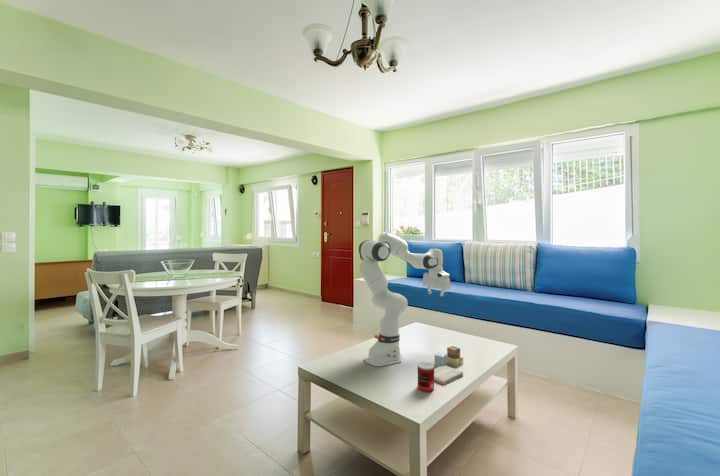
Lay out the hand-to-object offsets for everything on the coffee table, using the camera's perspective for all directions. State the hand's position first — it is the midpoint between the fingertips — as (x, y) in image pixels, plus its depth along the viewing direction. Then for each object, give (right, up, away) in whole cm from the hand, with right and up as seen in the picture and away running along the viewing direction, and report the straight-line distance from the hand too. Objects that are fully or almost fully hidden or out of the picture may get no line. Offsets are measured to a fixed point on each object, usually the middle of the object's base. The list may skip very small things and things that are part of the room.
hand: (435, 294), depth 205 cm
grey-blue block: (-4, -34, -27) cm, 44 cm away
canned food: (-18, -35, -54) cm, 67 cm away
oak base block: (+5, -35, -25) cm, 43 cm away
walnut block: (+4, -31, -25) cm, 40 cm away
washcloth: (-5, -35, -41) cm, 55 cm away
